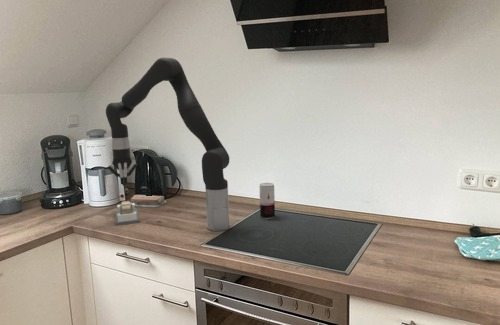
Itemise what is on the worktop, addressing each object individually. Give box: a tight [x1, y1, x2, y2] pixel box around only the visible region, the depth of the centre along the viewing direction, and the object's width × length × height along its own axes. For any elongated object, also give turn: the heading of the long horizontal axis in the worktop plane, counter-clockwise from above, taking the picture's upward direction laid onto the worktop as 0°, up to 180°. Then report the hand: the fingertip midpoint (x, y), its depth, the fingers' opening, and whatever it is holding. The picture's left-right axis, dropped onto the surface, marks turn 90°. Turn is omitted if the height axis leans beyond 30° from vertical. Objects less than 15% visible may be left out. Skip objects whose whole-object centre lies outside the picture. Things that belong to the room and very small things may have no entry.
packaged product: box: [130, 194, 167, 209], centre depth 205 cm, size 18×5×10 cm
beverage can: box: [259, 182, 276, 220], centre depth 178 cm, size 7×7×15 cm
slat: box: [121, 200, 131, 214], centre depth 184 cm, size 14×4×5 cm, turn 18°
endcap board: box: [115, 203, 140, 226], centre depth 184 cm, size 19×10×4 cm, turn 18°
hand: (124, 185), depth 182 cm, fingers closed
